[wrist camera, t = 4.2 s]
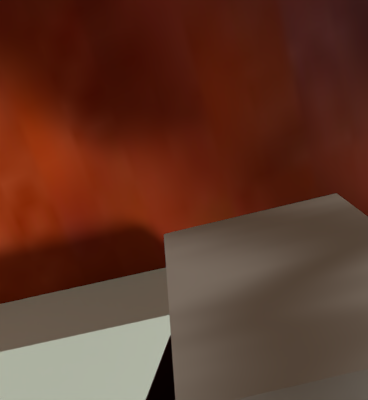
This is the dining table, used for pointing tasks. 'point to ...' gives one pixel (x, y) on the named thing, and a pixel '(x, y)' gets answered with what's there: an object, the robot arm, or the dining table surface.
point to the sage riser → (86, 340)
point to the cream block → (271, 304)
